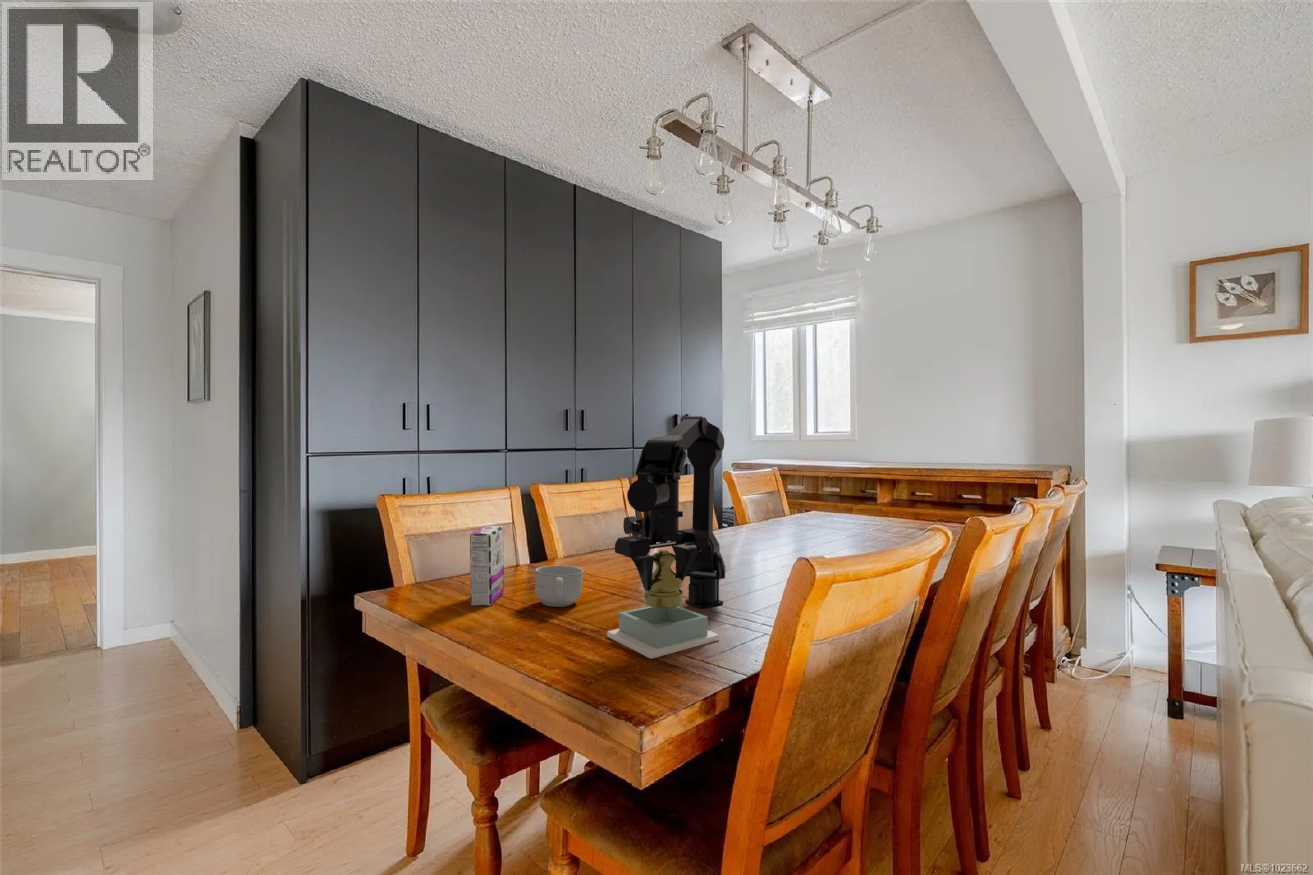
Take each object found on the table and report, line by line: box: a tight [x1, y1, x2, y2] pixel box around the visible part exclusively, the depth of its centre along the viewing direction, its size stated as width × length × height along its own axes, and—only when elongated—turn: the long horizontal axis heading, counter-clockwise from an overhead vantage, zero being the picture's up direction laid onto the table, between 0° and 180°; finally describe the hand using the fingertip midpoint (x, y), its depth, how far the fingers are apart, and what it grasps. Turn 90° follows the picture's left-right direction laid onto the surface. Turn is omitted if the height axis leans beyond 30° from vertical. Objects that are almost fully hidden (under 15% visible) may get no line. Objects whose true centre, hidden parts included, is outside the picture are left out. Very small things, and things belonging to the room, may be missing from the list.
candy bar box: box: [469, 525, 505, 607], centre depth 140 cm, size 11×5×16 cm, turn 179°
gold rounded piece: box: [643, 549, 684, 608], centre depth 114 cm, size 7×7×10 cm
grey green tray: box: [607, 605, 720, 659], centre depth 114 cm, size 16×14×4 cm
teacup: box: [534, 564, 584, 608], centre depth 135 cm, size 14×11×8 cm
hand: (663, 587), depth 114 cm, fingers closed on gold rounded piece, 7 cm apart
